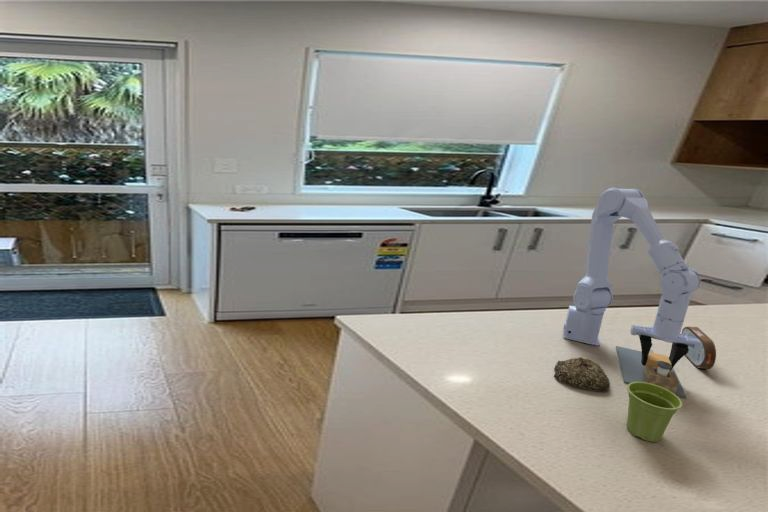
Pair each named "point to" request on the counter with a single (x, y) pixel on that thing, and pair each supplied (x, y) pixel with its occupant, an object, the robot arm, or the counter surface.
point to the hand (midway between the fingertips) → (655, 366)
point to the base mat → (637, 368)
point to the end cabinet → (661, 379)
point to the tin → (700, 348)
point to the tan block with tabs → (656, 359)
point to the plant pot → (650, 410)
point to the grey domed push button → (663, 368)
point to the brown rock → (582, 374)
